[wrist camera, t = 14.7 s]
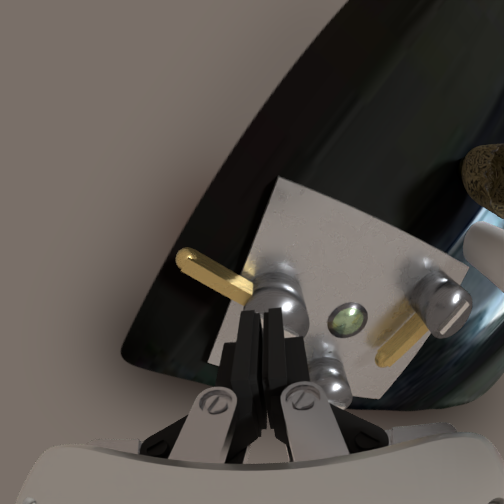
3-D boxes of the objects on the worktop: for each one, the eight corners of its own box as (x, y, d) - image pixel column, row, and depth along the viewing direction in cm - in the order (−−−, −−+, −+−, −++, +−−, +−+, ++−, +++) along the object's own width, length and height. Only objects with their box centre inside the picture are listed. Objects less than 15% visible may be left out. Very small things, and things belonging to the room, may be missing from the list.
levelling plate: (463, 262, 29) (470, 267, 27) (376, 392, 36) (379, 399, 35) (277, 175, 26) (278, 177, 25) (209, 354, 34) (207, 363, 32)
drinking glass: (460, 223, 27) (514, 253, 17) (493, 213, 26) (545, 237, 17) (459, 272, 29) (505, 311, 20) (491, 259, 28) (536, 291, 19)
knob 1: (314, 289, 29) (324, 320, 23) (281, 330, 30) (284, 364, 25) (196, 220, 26) (180, 239, 21) (170, 269, 28) (151, 296, 23)
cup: (433, 180, 25) (479, 194, 18) (456, 126, 23) (503, 127, 15) (470, 212, 26) (513, 232, 19) (491, 163, 24) (535, 173, 16)
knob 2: (436, 261, 27) (462, 282, 22) (457, 287, 28) (481, 309, 23) (357, 345, 31) (370, 376, 26) (384, 362, 32) (398, 392, 27)
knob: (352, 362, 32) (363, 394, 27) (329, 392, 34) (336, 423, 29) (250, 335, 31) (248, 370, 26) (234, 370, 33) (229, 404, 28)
